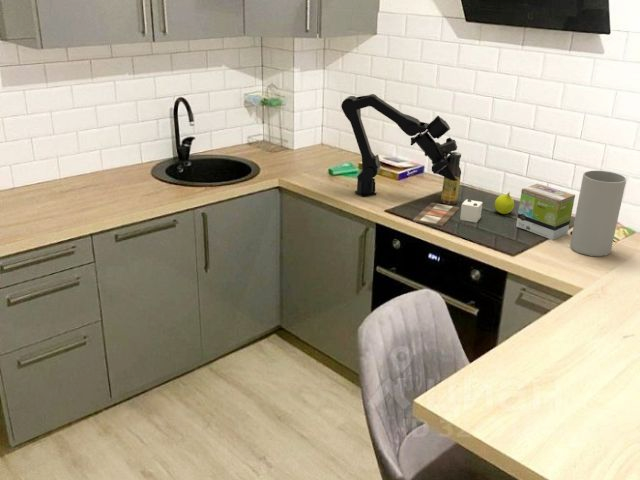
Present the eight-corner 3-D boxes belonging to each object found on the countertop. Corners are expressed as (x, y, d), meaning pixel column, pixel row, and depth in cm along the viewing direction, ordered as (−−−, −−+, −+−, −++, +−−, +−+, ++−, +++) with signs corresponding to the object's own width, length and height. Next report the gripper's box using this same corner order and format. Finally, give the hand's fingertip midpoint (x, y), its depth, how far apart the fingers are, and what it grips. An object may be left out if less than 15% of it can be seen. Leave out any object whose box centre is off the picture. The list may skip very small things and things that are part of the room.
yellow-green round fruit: (508, 218, 235) (512, 192, 231) (490, 213, 239) (493, 188, 235) (515, 212, 240) (519, 187, 236) (498, 208, 244) (501, 183, 240)
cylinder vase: (574, 255, 205) (588, 181, 195) (565, 240, 216) (579, 169, 206) (615, 258, 203) (631, 183, 193) (604, 243, 215) (619, 171, 205)
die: (464, 214, 237) (466, 197, 234) (480, 217, 235) (482, 200, 232) (460, 219, 232) (462, 202, 230) (476, 222, 230) (478, 205, 227)
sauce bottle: (438, 203, 248) (443, 153, 240) (443, 198, 253) (448, 150, 245) (455, 206, 245) (460, 156, 237) (459, 201, 250) (465, 152, 242)
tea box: (514, 227, 226) (520, 187, 220) (530, 221, 232) (537, 182, 226) (552, 241, 216) (560, 199, 210) (568, 234, 222) (576, 193, 216)
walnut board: (431, 203, 247) (431, 202, 247) (459, 209, 242) (459, 207, 242) (412, 221, 230) (412, 219, 230) (442, 226, 225) (442, 224, 225)
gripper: (443, 138, 231) (471, 170, 232) (447, 127, 247) (473, 157, 249) (419, 157, 236) (447, 189, 237) (425, 145, 252) (451, 174, 254)
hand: (455, 177), depth 244 cm, fingers open, 8 cm apart
